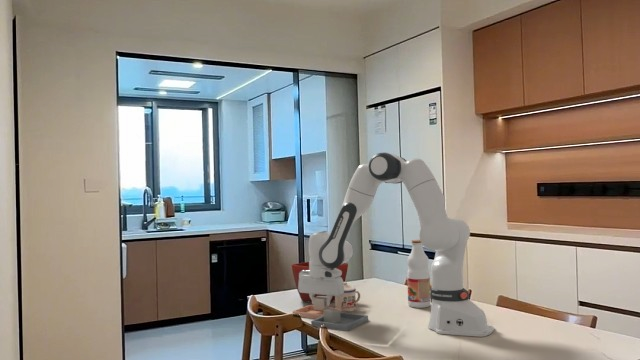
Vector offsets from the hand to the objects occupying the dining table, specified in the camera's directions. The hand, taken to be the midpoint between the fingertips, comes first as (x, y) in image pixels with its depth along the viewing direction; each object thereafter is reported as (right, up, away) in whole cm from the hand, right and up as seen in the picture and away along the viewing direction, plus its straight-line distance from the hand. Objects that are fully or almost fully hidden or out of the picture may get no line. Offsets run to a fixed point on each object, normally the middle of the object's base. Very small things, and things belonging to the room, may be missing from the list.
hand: (320, 305), depth 212 cm
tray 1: (-2, -4, -3) cm, 5 cm away
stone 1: (0, -1, 0) cm, 1 cm away
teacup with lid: (+12, -4, +7) cm, 14 cm away
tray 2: (+7, -3, -17) cm, 19 cm away
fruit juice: (+42, -3, +10) cm, 43 cm away
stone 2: (+4, -3, -15) cm, 16 cm away
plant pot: (0, -4, +26) cm, 26 cm away
